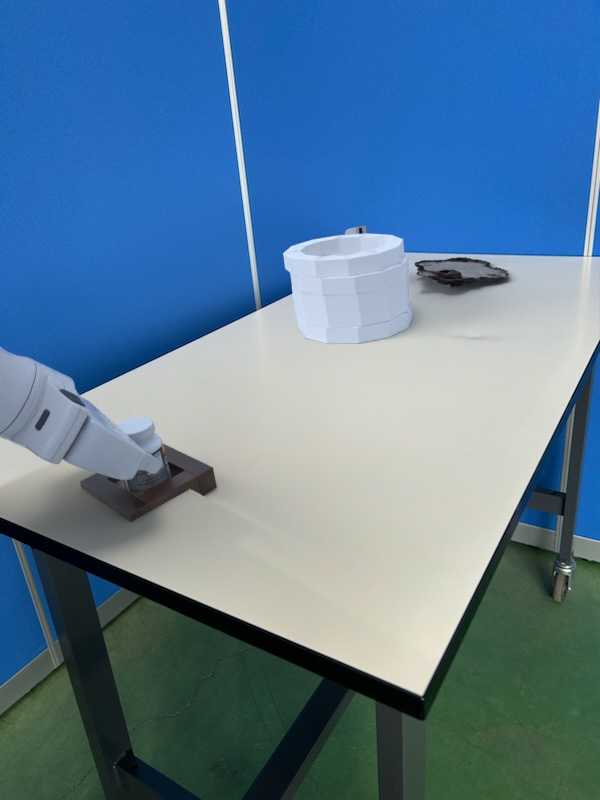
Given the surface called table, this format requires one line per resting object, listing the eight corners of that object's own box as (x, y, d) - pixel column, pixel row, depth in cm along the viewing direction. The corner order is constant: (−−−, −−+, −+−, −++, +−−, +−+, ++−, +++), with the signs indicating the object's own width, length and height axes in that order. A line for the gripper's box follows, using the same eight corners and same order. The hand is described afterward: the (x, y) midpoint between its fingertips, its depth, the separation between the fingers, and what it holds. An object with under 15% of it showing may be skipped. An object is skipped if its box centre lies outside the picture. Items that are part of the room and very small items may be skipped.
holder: (135, 535, 71) (129, 514, 70) (85, 501, 79) (79, 481, 78) (217, 487, 78) (213, 467, 77) (164, 460, 86) (159, 441, 85)
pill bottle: (183, 488, 79) (167, 419, 75) (148, 512, 75) (129, 440, 71) (154, 477, 82) (137, 410, 78) (119, 499, 78) (100, 430, 74)
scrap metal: (428, 264, 169) (397, 288, 144) (430, 249, 167) (399, 271, 142) (514, 276, 161) (498, 304, 136) (517, 261, 159) (502, 286, 134)
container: (271, 332, 132) (260, 256, 125) (342, 301, 146) (336, 231, 139) (363, 351, 115) (357, 265, 108) (434, 314, 130) (432, 236, 123)
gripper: (3, 404, 75) (101, 445, 84) (47, 466, 60) (162, 508, 68) (29, 359, 76) (124, 405, 84) (81, 409, 60) (191, 458, 69)
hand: (142, 452), depth 76 cm, fingers open, 8 cm apart
